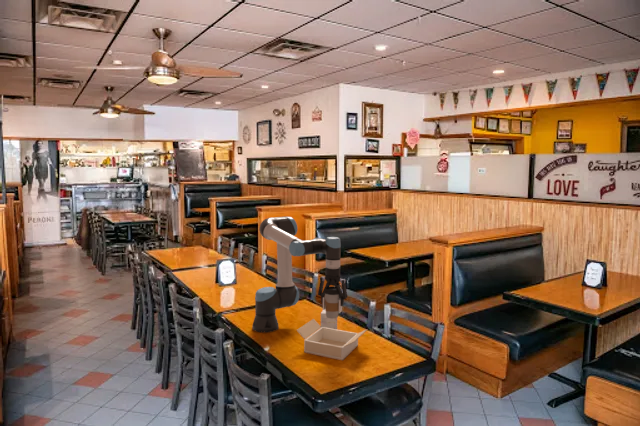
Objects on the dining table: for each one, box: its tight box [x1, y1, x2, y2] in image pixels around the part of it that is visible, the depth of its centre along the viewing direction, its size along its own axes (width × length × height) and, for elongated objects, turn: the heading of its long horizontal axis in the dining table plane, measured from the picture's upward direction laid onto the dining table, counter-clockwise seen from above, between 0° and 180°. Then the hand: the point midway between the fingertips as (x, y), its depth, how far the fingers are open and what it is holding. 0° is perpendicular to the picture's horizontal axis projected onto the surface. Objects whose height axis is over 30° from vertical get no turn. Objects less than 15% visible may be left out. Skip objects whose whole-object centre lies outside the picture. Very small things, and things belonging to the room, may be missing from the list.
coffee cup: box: [325, 286, 340, 319], centre depth 234 cm, size 8×8×15 cm
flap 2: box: [344, 328, 369, 347], centre depth 230 cm, size 6×19×1 cm
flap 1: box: [296, 318, 321, 340], centre depth 242 cm, size 6×19×1 cm
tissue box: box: [320, 309, 338, 330], centre depth 262 cm, size 9×8×13 cm
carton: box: [303, 327, 359, 361], centre depth 237 cm, size 21×22×6 cm
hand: (332, 310), depth 235 cm, fingers closed on coffee cup, 8 cm apart
